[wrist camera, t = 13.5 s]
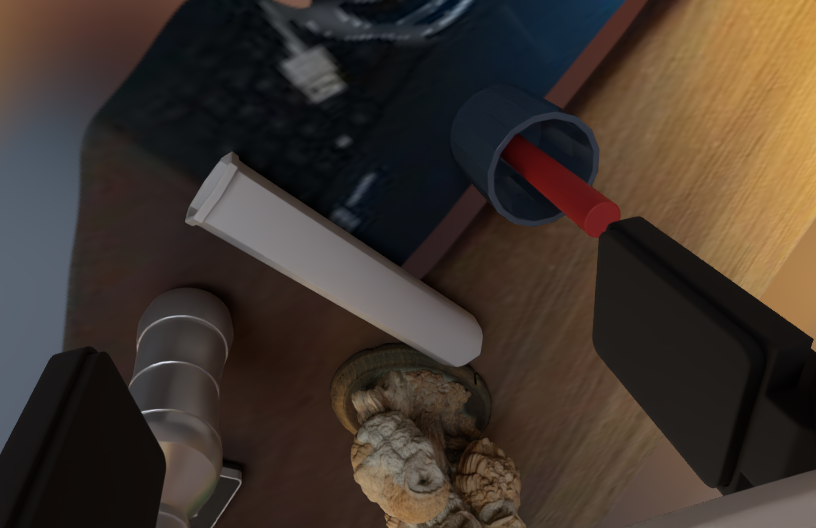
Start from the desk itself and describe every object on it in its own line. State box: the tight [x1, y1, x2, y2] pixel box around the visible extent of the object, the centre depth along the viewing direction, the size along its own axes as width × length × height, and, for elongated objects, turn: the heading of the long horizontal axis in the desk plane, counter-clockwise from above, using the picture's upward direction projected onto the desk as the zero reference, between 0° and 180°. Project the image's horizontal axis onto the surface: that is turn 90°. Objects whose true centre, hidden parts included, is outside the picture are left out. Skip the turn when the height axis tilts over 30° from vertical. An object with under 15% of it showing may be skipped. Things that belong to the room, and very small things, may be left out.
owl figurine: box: [330, 343, 527, 528], centre depth 44 cm, size 18×12×17 cm, turn 55°
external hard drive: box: [189, 462, 242, 528], centre depth 49 cm, size 7×11×2 cm, turn 147°
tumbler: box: [449, 84, 599, 227], centre depth 36 cm, size 7×7×8 cm
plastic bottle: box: [129, 287, 234, 528], centre depth 33 cm, size 6×7×20 cm
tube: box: [185, 152, 483, 367], centre depth 40 cm, size 5×5×25 cm
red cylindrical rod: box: [500, 133, 621, 237], centre depth 33 cm, size 2×2×14 cm
